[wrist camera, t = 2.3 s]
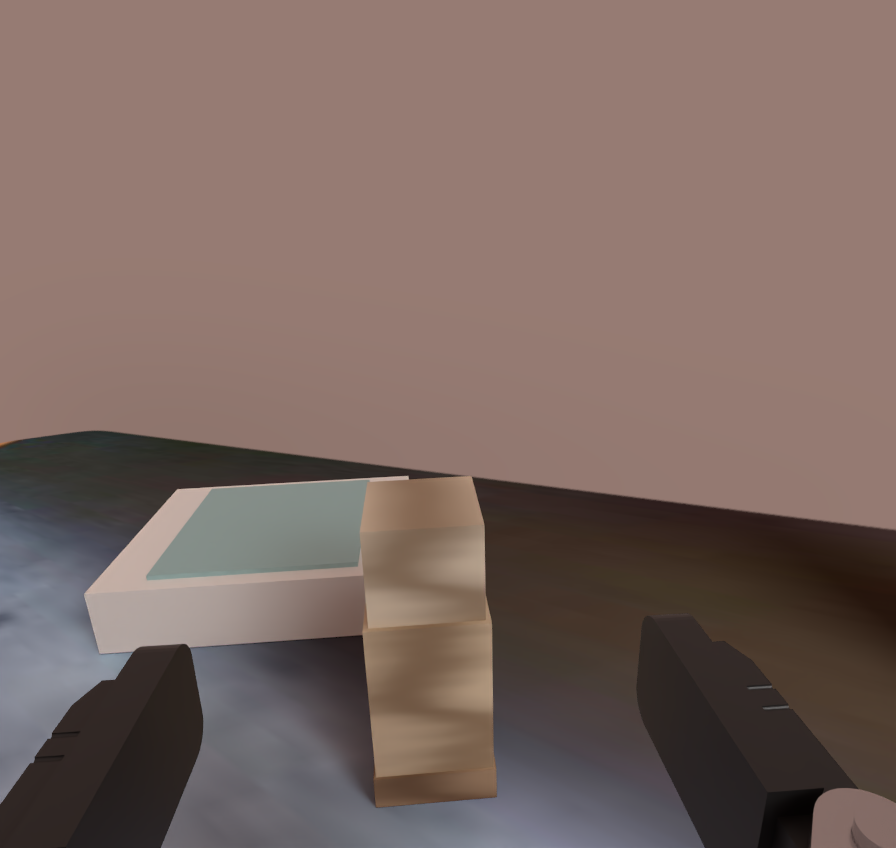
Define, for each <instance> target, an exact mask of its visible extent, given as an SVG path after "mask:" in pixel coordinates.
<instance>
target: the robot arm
mask: <svg viewBox="0 0 896 848" xmlns="http://www.w3.org/2000/svg"><path fill="white" fill-rule="evenodd" d="M637 700H638V705H639V710H640V714H641V717H642V720H643V723H644V725H645V727H646V729H647V731H648V733H649V735H650V737H651V739H652V741H653V743H654V745H655V747H656V749H657V751H658V753H659V756H660V758H661V760H662V762H663V764H664V766H665V768H666V770H667V772H668V774H669V776H670V778H671V780H672V782H673V784H674V786H675V788H676V790H677V792H678V794H679V796H680V798H681V800H682V802H683V804H684V806H685V808H686V810H687V812H688V814H689V816H690V818H691V820H692V822H693V824H694V826H695V828H696V830H697V832H698V835H699V837H700V839H701V841H702V843H703V845H704V847H705V848H896V803H894V802H892V801H890V800H888V799H886V798H884V797H881V796H879V795H876V794H874V793H871V792H868V791H863V790H859V789H858V788H857V787H856V785H855V784H854V783H853V782H852V781H851V779H850V778H849V777H848V776H847V775H846V773H845V772H844V771H843V770H842V768H841V767H840V766H839V765H838V764H837V762H836V761H835V760H834V759H833V758H832V756H831V755H830V754H829V753H828V752H827V750H826V749H825V748H824V747H823V746H822V744H821V743H820V742H819V741H818V739H817V738H816V737H815V736H814V735H813V733H812V732H811V731H810V730H809V729H808V727H807V726H806V725H805V724H804V723H803V721H802V720H801V719H800V718H799V717H798V715H797V714H796V713H795V712H794V710H793V709H789V707H788V703H787V702H786V701H785V700H784V698H783V697H782V696H781V695H780V694H779V692H778V691H777V690H776V689H773V688H772V684H771V683H770V681H769V680H768V679H767V678H766V677H765V675H764V674H763V673H762V672H761V671H760V669H759V668H758V667H757V666H756V665H755V663H754V662H753V661H752V660H751V659H749V658H748V657H746V656H745V655H744V654H742V653H741V652H739V651H738V650H736V649H735V648H733V647H732V646H730V645H729V644H728V643H726V642H725V641H717V642H712V641H711V639H710V638H709V637H708V636H707V634H706V633H705V632H704V630H703V629H702V628H701V626H700V625H699V624H698V623H697V621H696V620H695V619H694V618H693V616H691V615H690V614H688V613H685V614H669V615H653V616H646V617H645V618H644V620H643V623H642V630H641V641H640V653H639V664H638V676H637ZM202 735H203V714H202V708H201V703H200V697H199V692H198V687H197V681H196V676H195V670H194V665H193V659H192V654H191V651H190V648H189V647H188V645H187V644H173V645H157V646H142V647H139V648H137V649H136V650H135V651H134V652H133V654H132V655H131V657H130V658H129V660H128V661H127V663H126V664H125V666H124V667H123V669H122V670H121V672H120V673H119V675H118V676H117V678H116V679H115V680H105V681H101V682H100V683H99V684H98V685H96V686H95V687H94V688H93V689H91V690H90V691H89V692H88V693H86V694H85V695H84V696H83V697H82V698H80V699H79V700H78V701H77V702H75V703H74V704H73V705H72V706H71V707H70V709H69V710H68V712H67V713H66V714H65V716H64V717H63V719H62V720H61V721H60V723H59V724H58V725H57V727H56V728H55V730H54V731H53V732H52V737H51V739H47V741H46V742H45V743H44V745H43V746H42V748H41V749H40V750H39V752H38V753H37V755H36V756H35V761H34V763H30V764H29V766H28V767H27V768H26V770H25V771H24V773H23V774H22V775H21V777H20V778H19V779H18V781H17V782H16V784H15V785H14V786H13V788H12V789H11V791H10V792H9V793H8V795H7V796H6V798H5V799H4V800H3V802H2V803H1V804H0V848H161V846H162V843H163V841H164V838H165V836H166V833H167V831H168V828H169V826H170V823H171V821H172V819H173V816H174V814H175V811H176V809H177V806H178V804H179V801H180V799H181V796H182V794H183V791H184V789H185V787H186V784H187V782H188V779H189V777H190V774H191V772H192V769H193V767H194V764H195V762H196V759H197V757H198V754H199V751H200V747H201V742H202Z"/></svg>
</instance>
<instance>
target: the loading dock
mask: <svg viewBox="0 0 896 848" xmlns="http://www.w3.org/2000/svg"><path fill="white" fill-rule="evenodd" d="M394 480H409V477H408V476H398V477H381V478H364V479H346V480H329V481H312V482H295V483H277V484H260V485H243V486H226V487H208V488H191V489H177V490H176V491H175V493H174V494H173V495H172V496H171V497H170V498H169V499H168V500H167V502H166V503H165V504H164V505H163V506H162V507H161V508H160V509H159V511H158V512H157V513H156V514H155V515H154V516H153V517H152V518H151V520H150V521H149V522H148V523H147V524H146V525H145V526H144V527H143V529H142V530H141V531H140V532H139V533H138V534H137V535H136V536H135V537H134V539H133V540H132V541H131V542H130V543H129V544H128V545H127V546H126V548H125V549H124V550H123V551H122V552H121V553H120V554H119V555H118V557H117V558H116V559H115V560H114V561H113V562H112V563H111V564H110V566H109V567H108V568H107V569H106V570H105V571H104V572H103V573H102V574H101V576H100V577H99V578H98V579H97V580H96V581H95V582H94V583H93V585H92V586H91V587H90V588H89V589H88V590H87V591H86V592H85V594H84V597H85V600H86V604H87V608H88V612H89V615H90V619H91V623H92V627H93V631H94V634H95V638H96V642H97V646H98V649H99V653H100V654H107V653H121V652H134V651H135V650H136V649H137V648H139V647H142V646H157V645H173V644H187V645H188V647H189V648H190V647H204V646H218V645H232V644H245V643H259V642H273V641H287V640H301V639H314V638H328V637H342V636H356V635H363V634H362V631H363V622H364V613H365V604H366V599H365V588H364V577H363V565H362V554H361V543H360V526H361V520H362V514H363V507H364V501H365V494H366V488H367V482H377V481H394Z"/></svg>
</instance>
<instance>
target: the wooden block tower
mask: <svg viewBox="0 0 896 848" xmlns="http://www.w3.org/2000/svg"><path fill="white" fill-rule="evenodd" d="M360 543H361V554H362V565H363V577H364V588H365V599H366V604H365V613H364V622H363V631H362V634H363V644H364V655H365V666H366V677H367V687H368V698H369V709H370V719H371V730H372V741H373V751H374V777H373V782H374V792H375V803H376V808H378V807H390V806H401V805H412V804H424V803H435V802H446V801H458V800H469V799H481V798H492V797H497V783H496V764H495V758H494V752H493V674H492V621H491V617H490V612H489V608H488V603H487V599H486V594H485V531H484V521H483V518H482V514H481V510H480V507H479V503H478V499H477V495H476V492H475V488H474V484H473V481H472V477H471V476H464V477H446V478H429V479H412V480H394V481H377V482H367V488H366V494H365V501H364V507H363V514H362V520H361V526H360Z"/></svg>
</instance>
